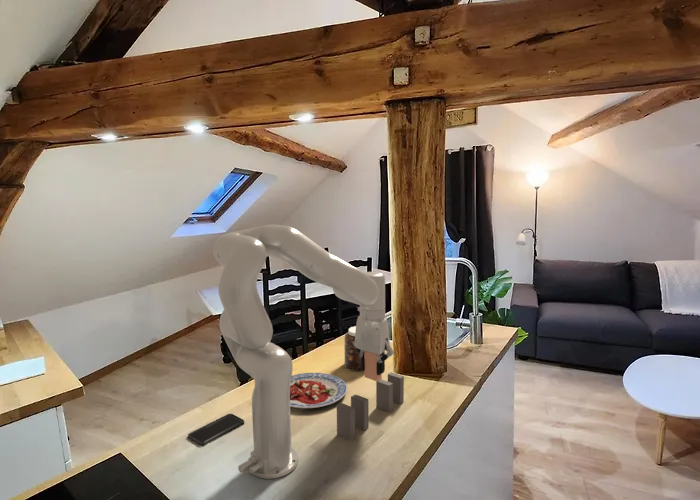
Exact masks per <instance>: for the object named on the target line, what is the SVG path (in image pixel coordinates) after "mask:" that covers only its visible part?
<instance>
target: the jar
mask: <svg viewBox="0 0 700 500" xmlns="http://www.w3.org/2000/svg"><path fill="white" fill-rule="evenodd" d="M355 331H356V325H354V326H351V327H349V328H348V331H347V332H346V333H345V334H344V349H343V350H344V368H345V369H347V371H350V372H357V373H358V372H359V373H360V372H364V370H362V365H361V357H360V356H359V352H358V351H357V348H355V346H354V345H353V342H354V341H355Z"/></svg>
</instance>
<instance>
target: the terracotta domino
mask: <svg viewBox="0 0 700 500" xmlns="http://www.w3.org/2000/svg"><path fill="white" fill-rule="evenodd" d="M381 357H382V355H381ZM364 358H365V370H364V371H363V373H364V378H367V379H370V380H372V381H375V382H376V381H380V380H383V379H382V378H383V377H382V374H383V373H382V374H380V375H377V362H378V358H377V354H374V353H370V352H367V351H364Z"/></svg>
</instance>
